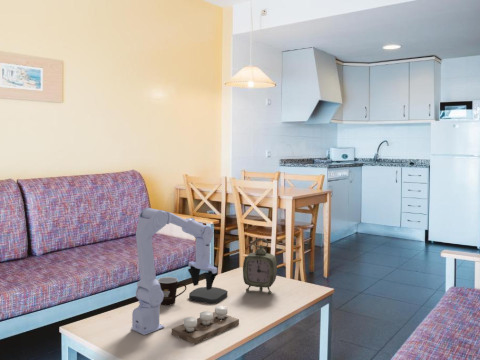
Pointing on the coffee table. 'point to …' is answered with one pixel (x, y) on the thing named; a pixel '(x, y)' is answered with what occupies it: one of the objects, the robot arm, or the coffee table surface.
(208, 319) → the knob middle
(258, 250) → the tabletop clock
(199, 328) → the brown wooden board
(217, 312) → the knob far
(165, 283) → the coffee mug
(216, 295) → the media streaming box
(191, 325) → the knob near
